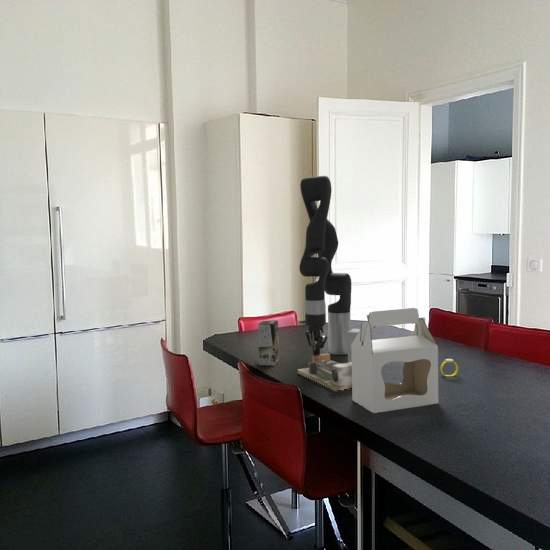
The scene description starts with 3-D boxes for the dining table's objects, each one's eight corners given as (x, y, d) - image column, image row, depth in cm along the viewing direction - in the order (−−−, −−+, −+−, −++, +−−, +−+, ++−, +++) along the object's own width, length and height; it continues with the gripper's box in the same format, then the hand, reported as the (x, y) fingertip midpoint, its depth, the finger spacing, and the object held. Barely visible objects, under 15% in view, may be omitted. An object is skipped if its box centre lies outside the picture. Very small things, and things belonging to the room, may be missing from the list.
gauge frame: (333, 367, 214) (333, 348, 214) (373, 385, 191) (373, 362, 190) (297, 373, 208) (297, 353, 208) (334, 391, 185) (333, 368, 184)
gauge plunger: (328, 366, 209) (327, 353, 209) (336, 370, 204) (335, 356, 204) (303, 370, 205) (302, 356, 205) (310, 374, 200) (310, 359, 200)
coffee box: (275, 365, 220) (273, 324, 219) (258, 365, 222) (257, 324, 220) (279, 360, 229) (278, 320, 228) (263, 359, 230) (262, 320, 229)
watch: (442, 378, 197) (441, 361, 197) (439, 376, 200) (438, 359, 199) (459, 376, 198) (458, 359, 197) (456, 374, 200) (455, 357, 200)
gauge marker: (314, 372, 201) (314, 362, 201) (316, 373, 200) (315, 362, 200) (309, 373, 200) (308, 363, 200) (310, 373, 199) (310, 363, 199)
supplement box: (371, 361, 223) (370, 329, 222) (366, 365, 216) (365, 332, 215) (353, 359, 226) (352, 328, 225) (347, 364, 219) (346, 331, 218)
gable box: (414, 391, 182) (413, 304, 180) (439, 403, 170) (438, 309, 167) (351, 400, 175) (349, 309, 173) (372, 414, 163) (371, 316, 160)
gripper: (333, 313, 204) (334, 361, 205) (316, 308, 216) (317, 354, 217) (314, 315, 201) (315, 364, 202) (298, 310, 213) (299, 356, 214)
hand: (316, 358), depth 210 cm, fingers closed
